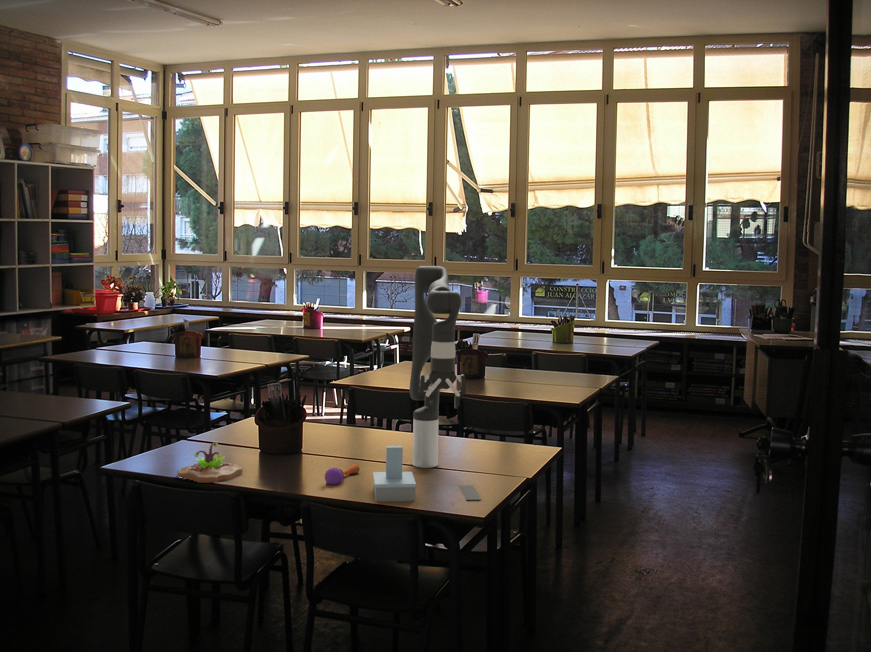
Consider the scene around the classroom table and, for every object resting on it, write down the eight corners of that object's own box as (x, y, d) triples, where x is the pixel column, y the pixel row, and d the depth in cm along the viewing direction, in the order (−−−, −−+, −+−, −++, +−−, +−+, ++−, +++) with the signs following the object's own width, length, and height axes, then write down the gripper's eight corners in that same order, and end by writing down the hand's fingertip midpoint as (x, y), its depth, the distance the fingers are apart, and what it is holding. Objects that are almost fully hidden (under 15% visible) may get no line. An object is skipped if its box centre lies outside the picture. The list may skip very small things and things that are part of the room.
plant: (253, 473, 279) (252, 441, 278) (210, 486, 262) (210, 452, 262) (211, 465, 289) (211, 434, 288) (168, 477, 273) (168, 445, 272)
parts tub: (373, 490, 259) (374, 475, 259) (410, 489, 261) (411, 474, 260) (375, 503, 246) (375, 487, 245) (414, 502, 247) (414, 486, 247)
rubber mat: (431, 487, 265) (431, 485, 265) (472, 486, 266) (472, 485, 266) (436, 501, 249) (436, 500, 249) (481, 500, 250) (481, 499, 250)
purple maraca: (364, 462, 280) (339, 472, 261) (360, 479, 281) (335, 489, 262) (349, 458, 282) (323, 466, 263) (345, 474, 283) (319, 484, 264)
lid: (373, 475, 259) (373, 441, 258) (411, 474, 261) (412, 441, 260) (374, 487, 245) (375, 452, 244) (415, 487, 246) (416, 451, 246)
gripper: (464, 354, 250) (463, 406, 251) (418, 354, 248) (417, 406, 250) (467, 357, 243) (466, 410, 244) (421, 357, 241) (420, 410, 242)
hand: (442, 408), depth 247 cm, fingers open, 8 cm apart
